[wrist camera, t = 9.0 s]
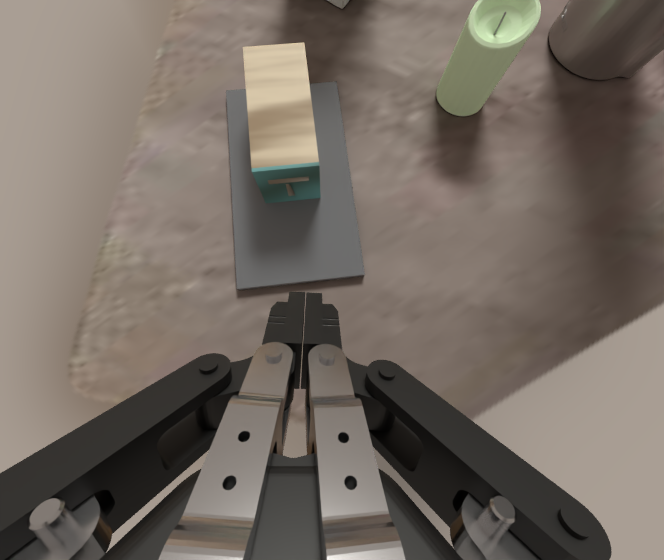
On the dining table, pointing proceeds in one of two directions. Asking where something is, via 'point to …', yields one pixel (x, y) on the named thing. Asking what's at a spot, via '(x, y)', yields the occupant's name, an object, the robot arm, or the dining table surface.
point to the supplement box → (339, 3)
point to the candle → (485, 52)
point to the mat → (294, 207)
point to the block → (281, 122)
